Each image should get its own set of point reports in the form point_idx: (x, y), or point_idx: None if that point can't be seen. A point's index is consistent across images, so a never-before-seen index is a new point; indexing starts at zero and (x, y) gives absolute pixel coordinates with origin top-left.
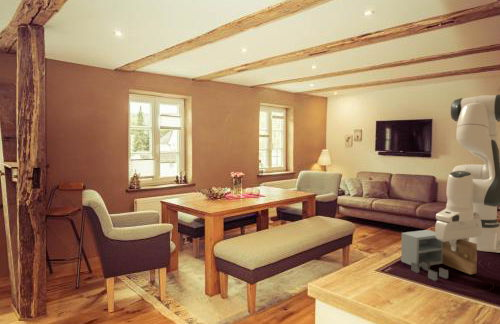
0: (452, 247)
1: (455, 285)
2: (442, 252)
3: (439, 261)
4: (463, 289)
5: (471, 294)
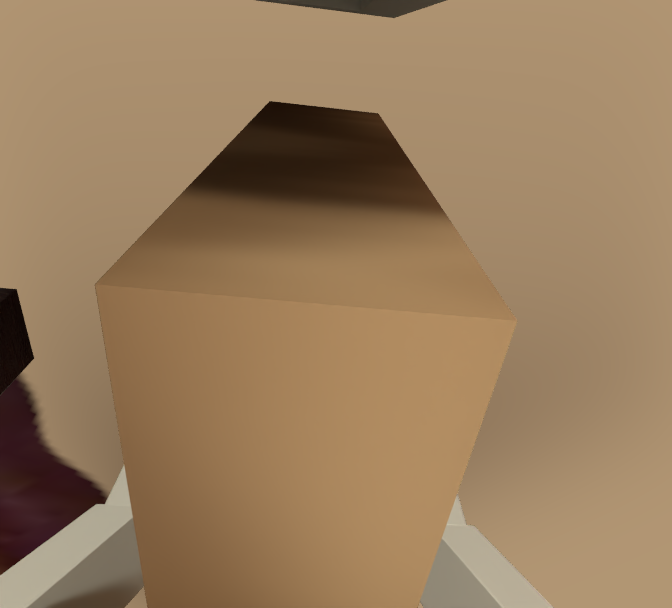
0: (123, 494)
1: (2, 444)
2: (244, 128)
3: (317, 5)
4: (10, 495)
5: (5, 543)
